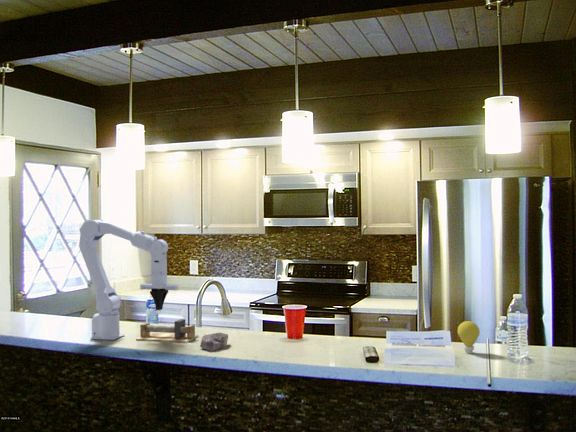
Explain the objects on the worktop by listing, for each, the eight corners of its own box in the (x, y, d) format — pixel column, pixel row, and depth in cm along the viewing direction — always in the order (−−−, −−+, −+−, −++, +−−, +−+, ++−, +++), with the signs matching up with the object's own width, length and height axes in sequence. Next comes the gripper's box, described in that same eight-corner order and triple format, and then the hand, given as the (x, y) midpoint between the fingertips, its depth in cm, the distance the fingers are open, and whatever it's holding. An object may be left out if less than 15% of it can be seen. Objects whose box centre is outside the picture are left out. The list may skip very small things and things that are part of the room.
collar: (174, 338, 207) (174, 321, 207) (181, 335, 212) (180, 319, 212) (179, 338, 207) (179, 321, 207) (185, 335, 212) (185, 319, 212)
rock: (196, 351, 191) (196, 337, 191) (207, 343, 202) (207, 330, 202) (219, 352, 190) (219, 338, 190) (229, 344, 201) (229, 331, 201)
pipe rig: (135, 340, 209) (135, 326, 209) (149, 334, 218) (149, 321, 218) (186, 342, 203) (186, 328, 203) (198, 336, 213) (198, 323, 213)
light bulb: (462, 349, 188) (462, 318, 188) (483, 352, 184) (482, 320, 184) (454, 353, 183) (453, 321, 183) (475, 356, 179) (474, 323, 179)
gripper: (135, 273, 210) (136, 310, 210) (171, 273, 207) (172, 311, 207) (145, 271, 217) (145, 307, 217) (180, 272, 213) (181, 308, 213)
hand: (159, 309), depth 212 cm, fingers closed
